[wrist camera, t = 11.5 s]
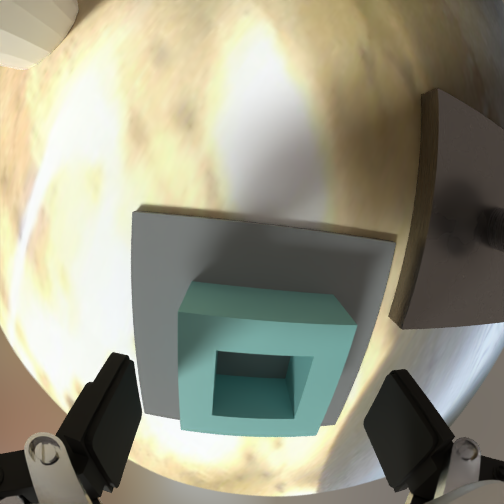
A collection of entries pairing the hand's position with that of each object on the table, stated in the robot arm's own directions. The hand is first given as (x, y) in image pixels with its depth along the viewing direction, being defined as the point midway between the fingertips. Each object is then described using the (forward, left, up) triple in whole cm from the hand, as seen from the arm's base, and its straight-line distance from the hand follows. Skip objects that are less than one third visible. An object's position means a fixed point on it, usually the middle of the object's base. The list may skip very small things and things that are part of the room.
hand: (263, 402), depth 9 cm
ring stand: (-7, +13, -5) cm, 16 cm away
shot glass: (-16, -15, -5) cm, 23 cm away
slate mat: (+1, 0, -5) cm, 5 cm away
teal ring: (0, 0, -4) cm, 4 cm away
